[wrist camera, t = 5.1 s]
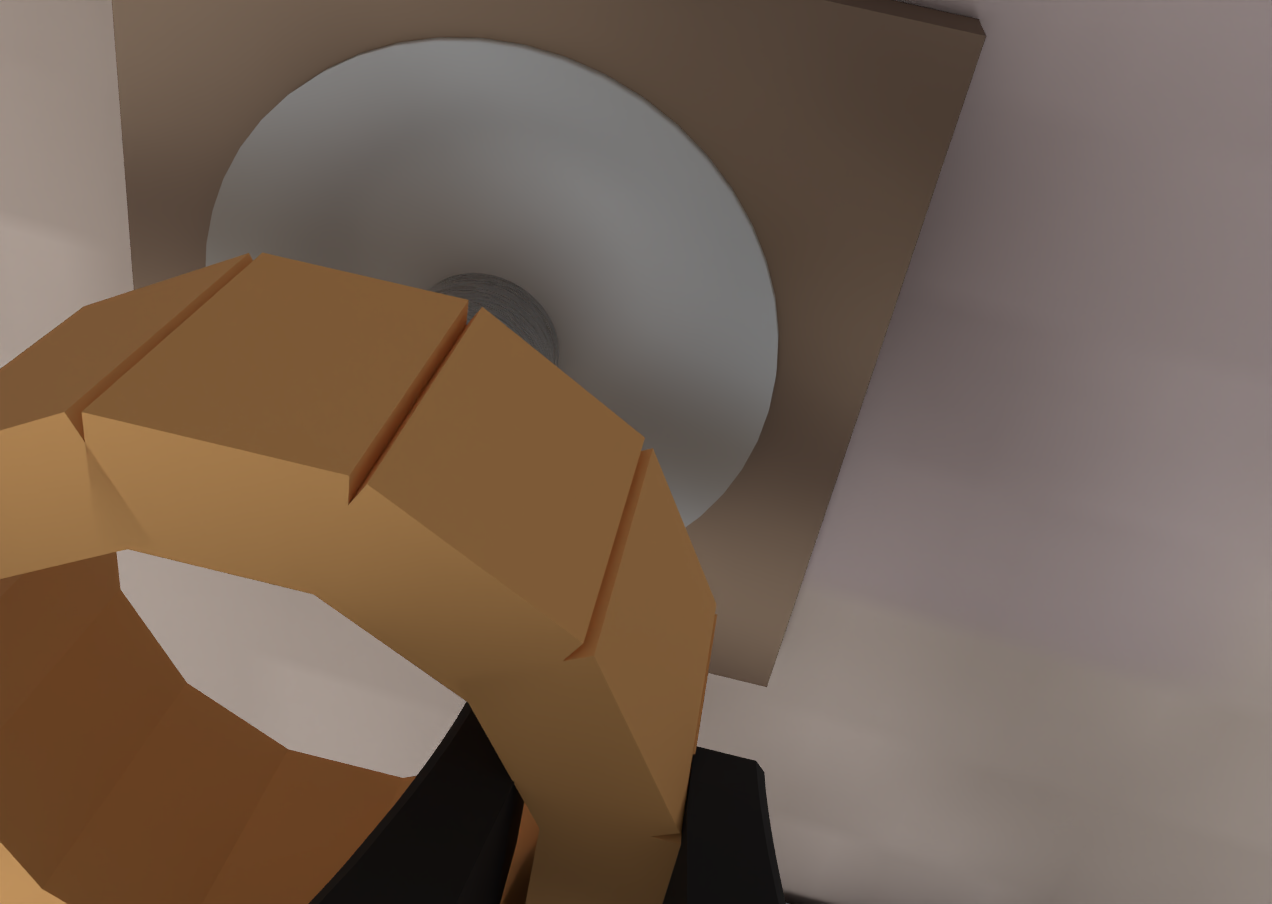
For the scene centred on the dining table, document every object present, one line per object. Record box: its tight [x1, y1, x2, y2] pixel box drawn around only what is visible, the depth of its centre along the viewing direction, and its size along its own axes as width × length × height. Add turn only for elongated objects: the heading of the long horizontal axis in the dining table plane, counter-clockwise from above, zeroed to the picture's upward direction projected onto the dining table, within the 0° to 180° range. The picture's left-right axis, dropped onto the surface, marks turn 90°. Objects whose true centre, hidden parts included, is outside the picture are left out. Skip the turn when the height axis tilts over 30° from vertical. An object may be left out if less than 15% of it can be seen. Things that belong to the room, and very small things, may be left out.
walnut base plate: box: [112, 0, 986, 687], centre depth 19 cm, size 12×12×1 cm
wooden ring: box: [0, 253, 717, 904], centre depth 12 cm, size 8×8×3 cm
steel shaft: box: [428, 273, 559, 366], centre depth 16 cm, size 2×2×5 cm
